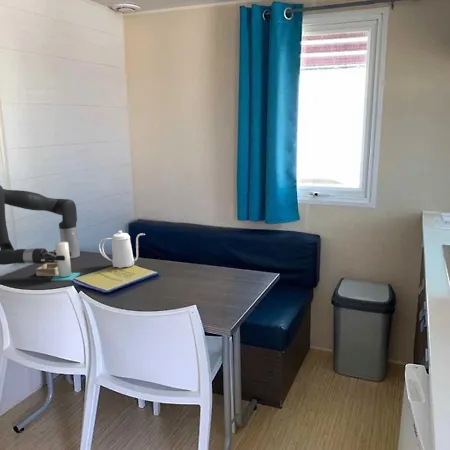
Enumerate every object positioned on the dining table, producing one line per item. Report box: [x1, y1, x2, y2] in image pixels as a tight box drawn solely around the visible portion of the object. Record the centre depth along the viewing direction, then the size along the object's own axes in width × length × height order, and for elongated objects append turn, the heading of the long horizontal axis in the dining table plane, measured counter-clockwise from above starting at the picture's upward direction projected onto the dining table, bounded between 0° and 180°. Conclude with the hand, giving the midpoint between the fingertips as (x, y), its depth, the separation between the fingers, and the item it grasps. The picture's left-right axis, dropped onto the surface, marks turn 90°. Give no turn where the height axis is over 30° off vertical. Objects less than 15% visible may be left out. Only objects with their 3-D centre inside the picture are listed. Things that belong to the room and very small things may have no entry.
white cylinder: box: [54, 241, 73, 277], centre depth 220 cm, size 6×6×16 cm
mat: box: [51, 272, 81, 282], centre depth 222 cm, size 10×10×1 cm
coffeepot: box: [98, 230, 146, 268], centre depth 234 cm, size 11×25×19 cm, turn 84°
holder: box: [35, 262, 59, 277], centre depth 230 cm, size 10×10×4 cm
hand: (67, 256), depth 219 cm, fingers closed on white cylinder, 6 cm apart
